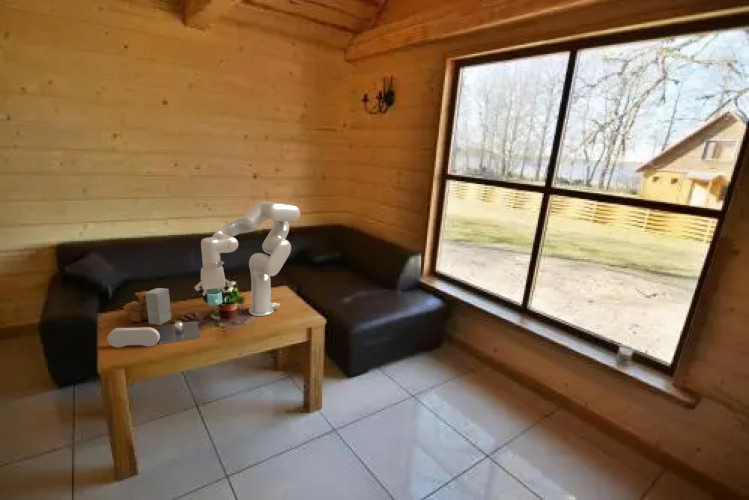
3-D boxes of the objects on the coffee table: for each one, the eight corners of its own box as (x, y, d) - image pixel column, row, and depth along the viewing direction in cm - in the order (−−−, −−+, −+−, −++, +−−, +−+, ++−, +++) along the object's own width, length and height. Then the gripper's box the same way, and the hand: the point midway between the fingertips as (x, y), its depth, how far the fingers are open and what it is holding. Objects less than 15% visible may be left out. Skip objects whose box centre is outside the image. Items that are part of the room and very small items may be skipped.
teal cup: (221, 298, 183) (221, 288, 182) (224, 305, 175) (223, 295, 174) (206, 300, 180) (205, 290, 179) (208, 308, 172) (207, 298, 171)
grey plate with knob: (197, 322, 185) (196, 313, 184) (199, 337, 171) (199, 327, 170) (159, 328, 178) (158, 318, 176) (159, 344, 164) (158, 333, 163)
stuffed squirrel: (162, 315, 191) (160, 290, 187) (136, 326, 178) (133, 300, 175) (148, 311, 194) (146, 286, 191) (121, 322, 181) (118, 296, 178)
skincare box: (160, 325, 180) (157, 294, 176) (146, 323, 181) (143, 292, 177) (172, 318, 188) (170, 288, 184) (160, 316, 189) (157, 286, 185)
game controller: (161, 343, 165) (159, 326, 162) (159, 346, 162) (157, 328, 160) (110, 345, 161) (108, 327, 159) (108, 348, 159) (105, 329, 157)
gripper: (230, 260, 181) (233, 295, 186) (190, 264, 173) (193, 300, 178) (233, 265, 174) (235, 301, 179) (191, 269, 166) (194, 307, 171)
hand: (214, 300), depth 178 cm, fingers closed on teal cup, 6 cm apart
